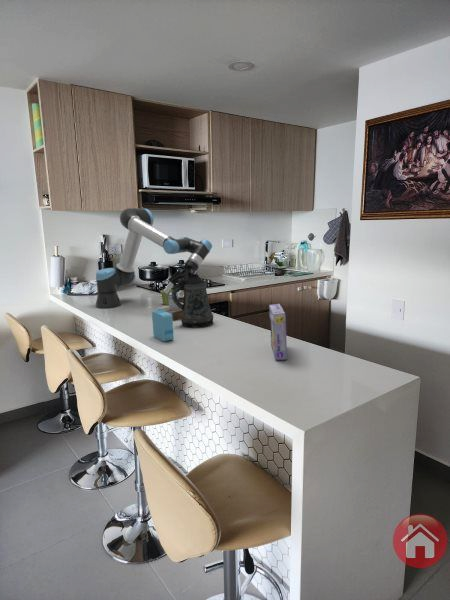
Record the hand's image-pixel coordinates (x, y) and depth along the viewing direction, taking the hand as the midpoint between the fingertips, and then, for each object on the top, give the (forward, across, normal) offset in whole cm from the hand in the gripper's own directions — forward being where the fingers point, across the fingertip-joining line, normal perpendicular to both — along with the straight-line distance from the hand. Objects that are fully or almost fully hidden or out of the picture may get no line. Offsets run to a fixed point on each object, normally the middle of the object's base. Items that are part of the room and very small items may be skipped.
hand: (172, 293), depth 210 cm
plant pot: (-4, +32, -22) cm, 40 cm away
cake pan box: (+14, -79, -5) cm, 80 cm away
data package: (+28, -29, +9) cm, 41 cm away
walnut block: (+9, 0, -10) cm, 14 cm away
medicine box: (+6, 0, -6) cm, 9 cm away
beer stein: (+10, -21, -8) cm, 25 cm away
